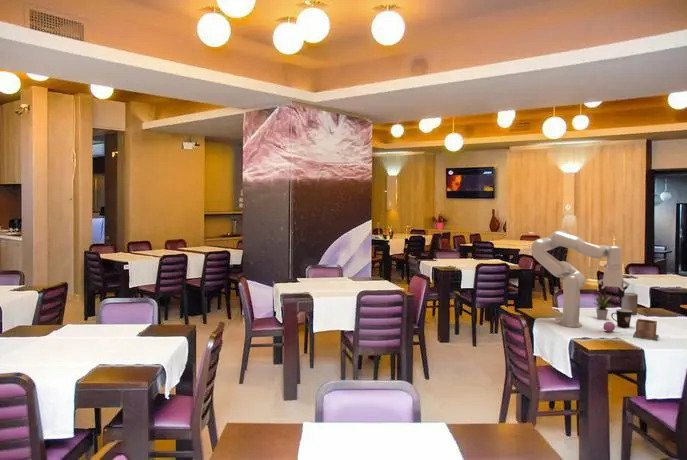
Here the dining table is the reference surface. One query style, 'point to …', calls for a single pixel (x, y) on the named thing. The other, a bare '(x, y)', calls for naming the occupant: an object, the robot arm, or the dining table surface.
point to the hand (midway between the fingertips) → (613, 296)
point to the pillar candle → (630, 302)
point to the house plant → (602, 307)
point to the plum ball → (609, 326)
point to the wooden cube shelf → (646, 329)
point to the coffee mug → (623, 318)
